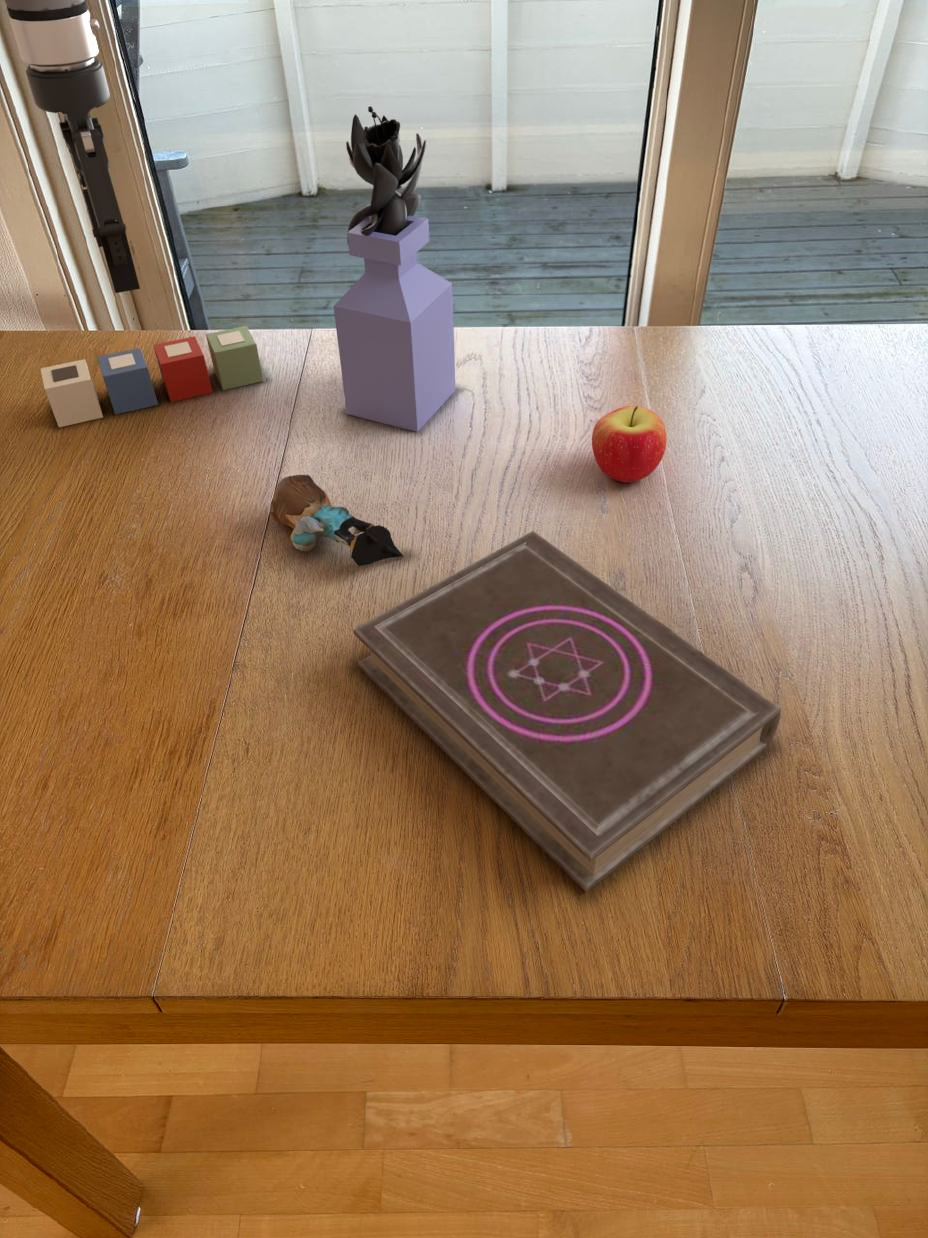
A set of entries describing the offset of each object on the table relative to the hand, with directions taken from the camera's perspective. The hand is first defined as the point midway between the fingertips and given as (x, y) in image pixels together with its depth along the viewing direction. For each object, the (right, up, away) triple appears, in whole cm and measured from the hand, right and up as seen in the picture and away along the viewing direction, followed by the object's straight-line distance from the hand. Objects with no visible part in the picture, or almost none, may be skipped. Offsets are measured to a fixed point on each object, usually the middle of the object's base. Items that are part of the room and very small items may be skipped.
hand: (118, 266), depth 111 cm
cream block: (-9, -15, +11) cm, 21 cm away
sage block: (+10, -9, +17) cm, 21 cm away
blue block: (-3, -13, +13) cm, 18 cm away
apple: (+59, -25, -1) cm, 64 cm away
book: (+49, -49, -25) cm, 74 cm away
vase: (+32, -13, +12) cm, 37 cm away
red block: (+4, -10, +15) cm, 19 cm away
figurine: (+26, -33, -9) cm, 43 cm away
